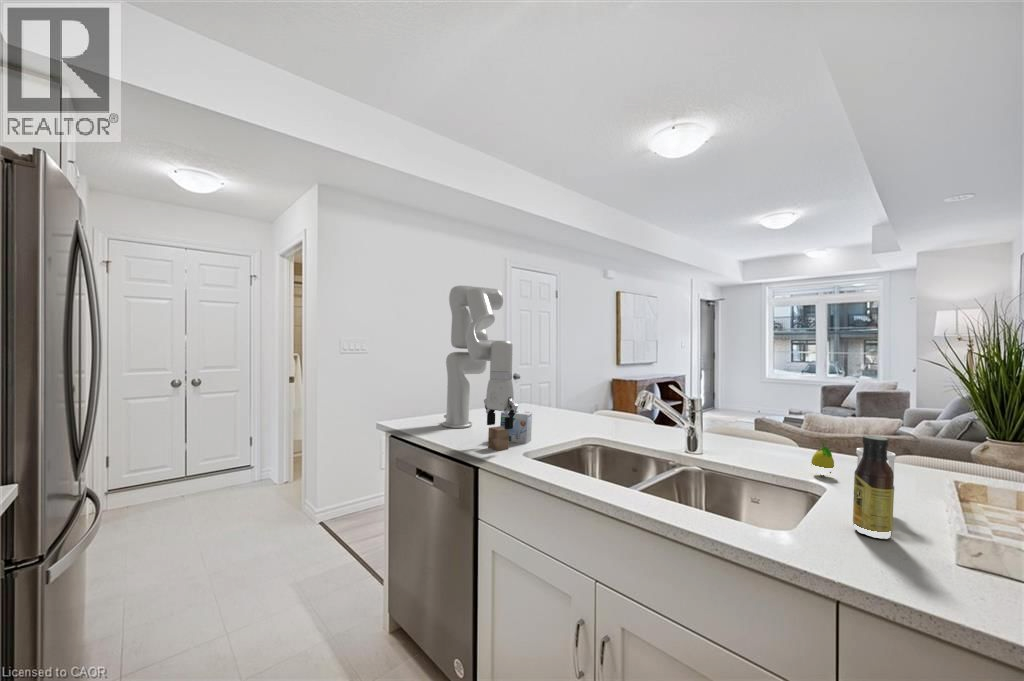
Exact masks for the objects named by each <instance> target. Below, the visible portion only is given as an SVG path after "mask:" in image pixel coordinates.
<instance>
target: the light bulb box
mask: <svg viewBox="0 0 1024 681" xmlns="http://www.w3.org/2000/svg"><path fill="white" fill-rule="evenodd" d="M508 413H509V411H508ZM505 417H506V415H505V413H504V410H503V411H500V425H499V426H501V427H505ZM532 420H533V412H532V411H525V410H523V411H522V410H516V413H515V416H514V417H513V429H509V443H515V444H516V443H517V444H524V445H525V444H526V445H527V444H528V443H529V442H531V441H532V427H533V421H532Z"/></svg>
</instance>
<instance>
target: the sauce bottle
mask: <svg viewBox="0 0 1024 681" xmlns="http://www.w3.org/2000/svg"><path fill="white" fill-rule="evenodd" d="M861 441H862V444H863V446H862V448H863V455H862V456H863V457H862V459H861V461H860V463H859V465H858V467H857V466H856V469H855V470H854V480H853V481H854V482H853V507H852V508H853V509H852V522H853V525H854V524H856V525H857V526H859V527H861V528H864V529H867V530H871V531H877V532H889V531H892V532H893V526H894V524H893V522H894V500H895V499H894V497H895V488H894V486H893V485H894V484H893V480H895V477H894V476H895V473H894V474H893V471H892V469H891V467H890V466H889V465H888V463H889V462H887V461H888V460H887V451H888V448H889V438H887V437H884V436H880V435H879V436H878V435H869V434H868V435H867V434H866V435H862V440H861Z"/></svg>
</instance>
